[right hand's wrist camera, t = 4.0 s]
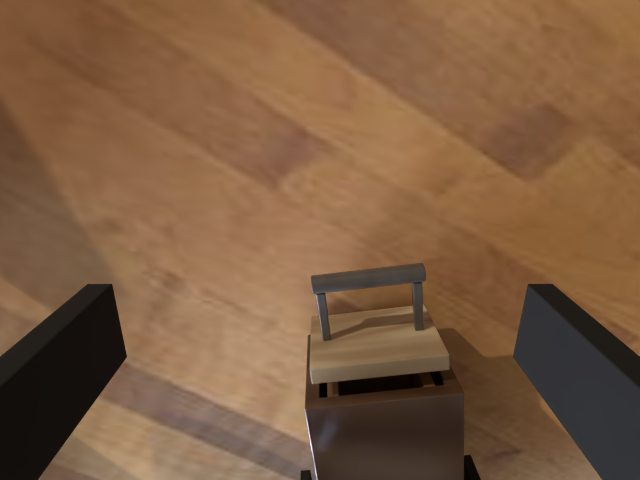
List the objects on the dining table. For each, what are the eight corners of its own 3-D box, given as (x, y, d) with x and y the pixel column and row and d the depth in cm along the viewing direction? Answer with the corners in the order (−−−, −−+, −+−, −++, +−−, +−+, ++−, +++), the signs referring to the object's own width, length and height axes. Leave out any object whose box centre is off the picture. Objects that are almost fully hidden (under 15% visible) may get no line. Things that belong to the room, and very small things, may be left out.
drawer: (302, 259, 30) (298, 301, 24) (421, 245, 30) (448, 284, 24) (332, 454, 37) (334, 525, 31) (429, 445, 36) (451, 515, 30)
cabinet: (307, 334, 33) (304, 409, 26) (429, 321, 33) (464, 393, 25) (329, 473, 39) (333, 570, 31) (434, 463, 39) (463, 558, 31)
